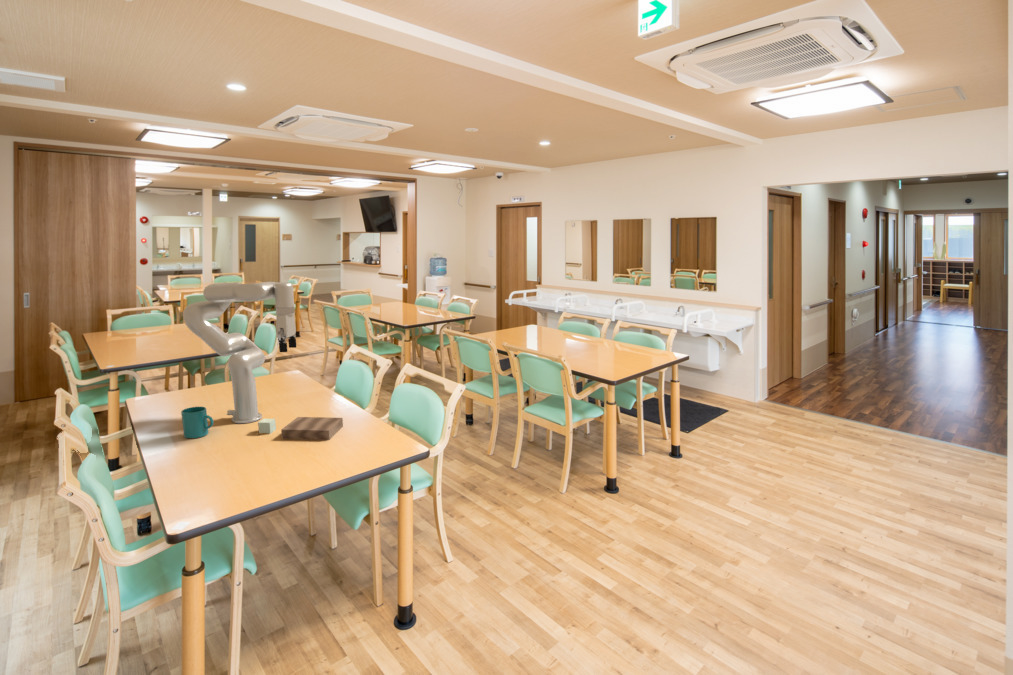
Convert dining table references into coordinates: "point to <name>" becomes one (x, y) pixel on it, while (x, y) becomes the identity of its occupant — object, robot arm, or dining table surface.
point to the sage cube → (267, 426)
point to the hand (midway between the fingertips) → (288, 349)
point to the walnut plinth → (312, 428)
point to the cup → (195, 422)
